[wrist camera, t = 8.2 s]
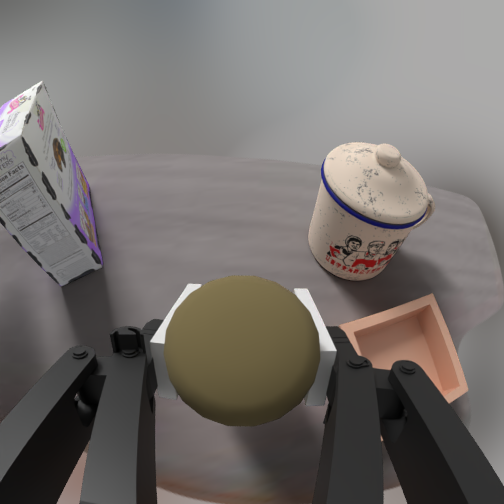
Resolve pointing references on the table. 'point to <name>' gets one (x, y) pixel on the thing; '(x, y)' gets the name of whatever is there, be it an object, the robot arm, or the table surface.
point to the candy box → (45, 189)
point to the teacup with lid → (365, 209)
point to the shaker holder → (411, 343)
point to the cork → (242, 350)
